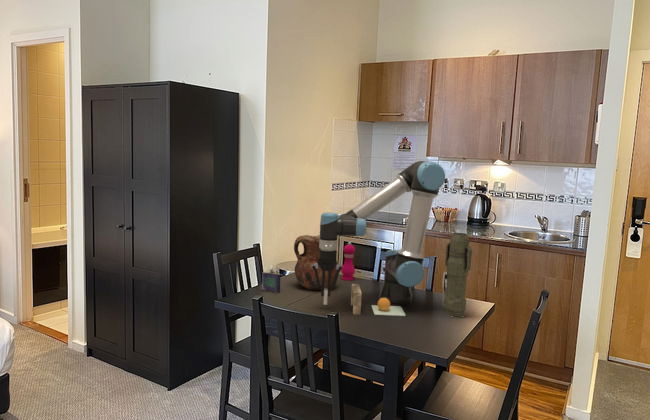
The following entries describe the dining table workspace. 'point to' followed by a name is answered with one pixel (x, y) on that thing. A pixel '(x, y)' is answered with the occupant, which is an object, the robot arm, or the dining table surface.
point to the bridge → (356, 299)
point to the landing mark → (389, 311)
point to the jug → (309, 263)
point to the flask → (271, 281)
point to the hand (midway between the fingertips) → (325, 303)
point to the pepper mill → (348, 263)
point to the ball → (383, 304)
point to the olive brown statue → (457, 274)
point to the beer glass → (444, 286)
